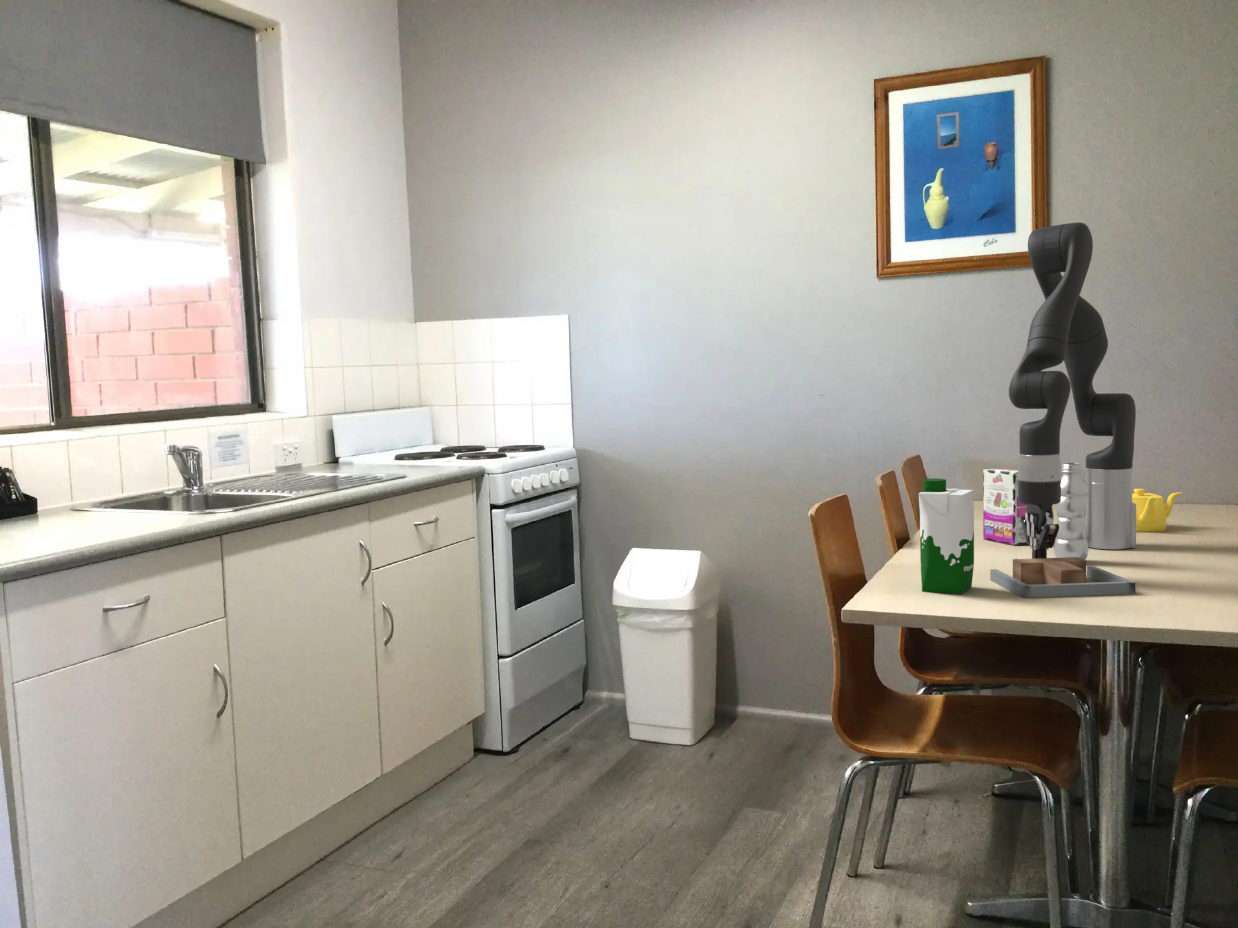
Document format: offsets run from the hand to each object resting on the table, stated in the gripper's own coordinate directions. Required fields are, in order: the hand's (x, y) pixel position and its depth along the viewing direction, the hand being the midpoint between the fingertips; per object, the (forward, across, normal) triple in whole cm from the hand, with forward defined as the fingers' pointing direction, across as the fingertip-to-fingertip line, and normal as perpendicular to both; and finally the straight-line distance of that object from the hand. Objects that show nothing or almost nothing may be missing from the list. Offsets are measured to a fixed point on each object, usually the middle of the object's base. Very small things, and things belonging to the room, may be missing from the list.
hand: (1039, 568), depth 201 cm
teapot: (+2, +53, -45) cm, 70 cm away
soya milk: (+2, -8, +20) cm, 22 cm away
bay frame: (+1, -9, 0) cm, 9 cm away
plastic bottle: (+2, +14, -12) cm, 19 cm away
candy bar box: (+2, +41, -9) cm, 42 cm away
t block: (+2, -8, 0) cm, 8 cm away
